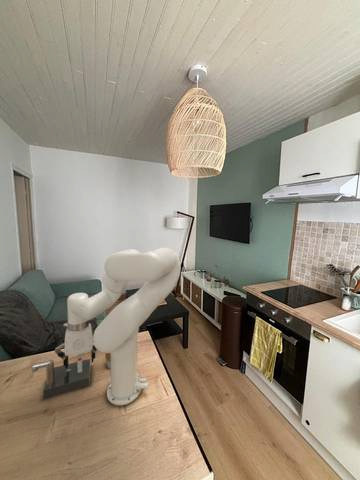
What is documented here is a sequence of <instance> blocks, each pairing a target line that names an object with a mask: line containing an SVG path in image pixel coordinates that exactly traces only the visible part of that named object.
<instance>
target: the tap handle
mask: <svg viewBox="0 0 360 480" xmlns="http://www.w3.org/2000/svg"><path fill="white" fill-rule="evenodd" d="M83 360H84V353H80V354H77V361H76V362H77V365H78V373H80V372H82V370H83Z"/></svg>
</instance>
